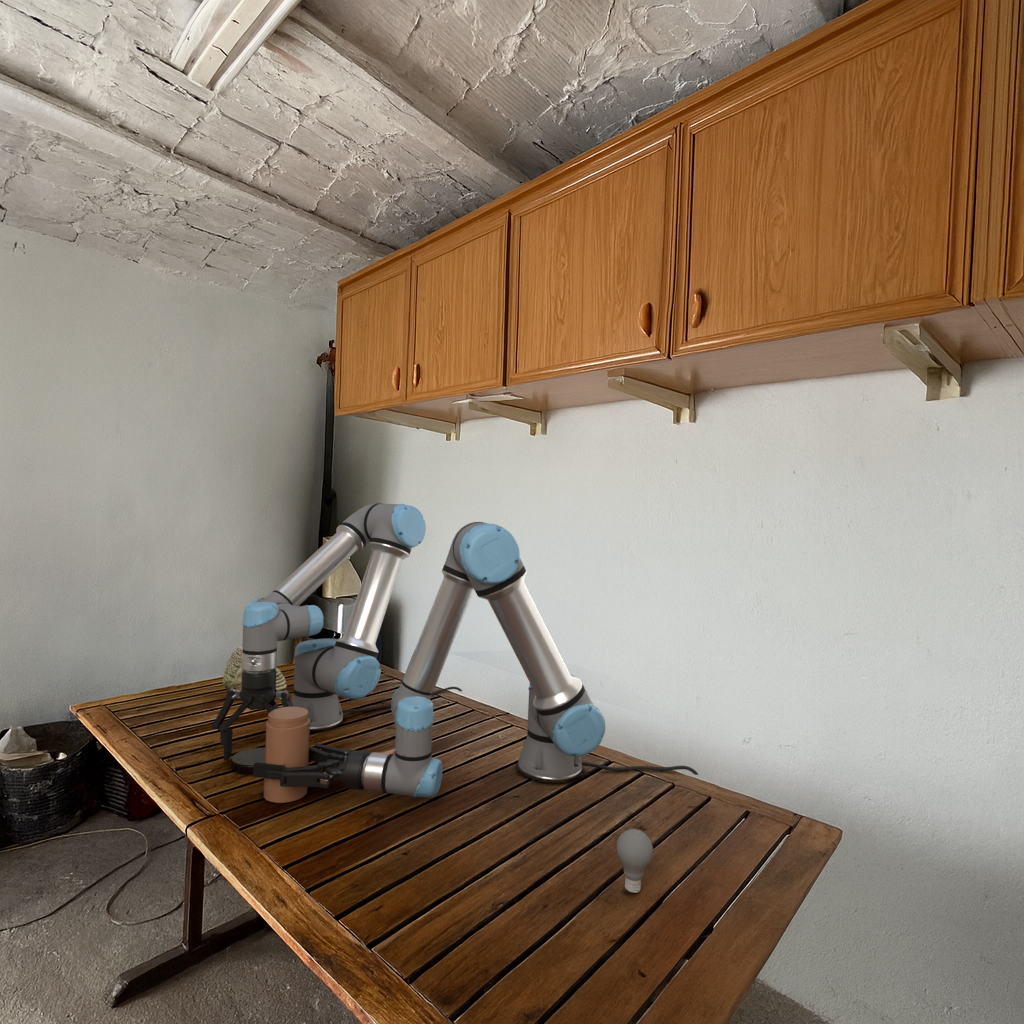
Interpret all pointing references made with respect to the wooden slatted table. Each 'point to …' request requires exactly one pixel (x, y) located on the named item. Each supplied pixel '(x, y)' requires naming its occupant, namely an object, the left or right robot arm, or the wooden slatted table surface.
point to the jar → (286, 749)
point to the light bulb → (634, 857)
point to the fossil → (235, 671)
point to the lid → (247, 760)
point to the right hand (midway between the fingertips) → (266, 760)
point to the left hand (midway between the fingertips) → (256, 759)
